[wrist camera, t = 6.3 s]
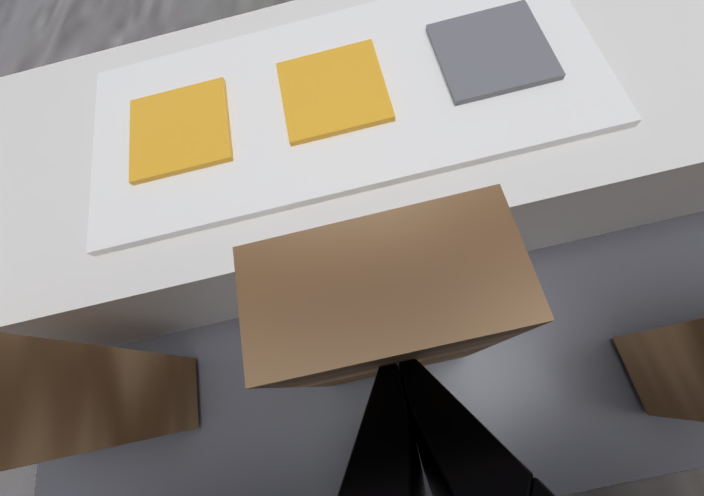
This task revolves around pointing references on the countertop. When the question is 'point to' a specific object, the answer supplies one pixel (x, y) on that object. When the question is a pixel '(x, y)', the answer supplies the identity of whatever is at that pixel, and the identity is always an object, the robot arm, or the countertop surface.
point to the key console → (360, 200)
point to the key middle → (385, 291)
